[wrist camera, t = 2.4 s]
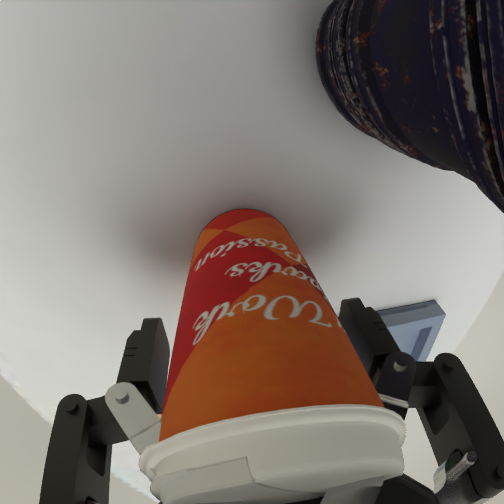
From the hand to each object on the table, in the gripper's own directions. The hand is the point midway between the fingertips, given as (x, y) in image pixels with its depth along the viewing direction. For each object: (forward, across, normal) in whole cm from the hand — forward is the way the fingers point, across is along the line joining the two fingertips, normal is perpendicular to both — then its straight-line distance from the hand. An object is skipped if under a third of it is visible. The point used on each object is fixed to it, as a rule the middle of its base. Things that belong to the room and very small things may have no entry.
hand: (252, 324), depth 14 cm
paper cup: (+6, 0, 0) cm, 6 cm away
